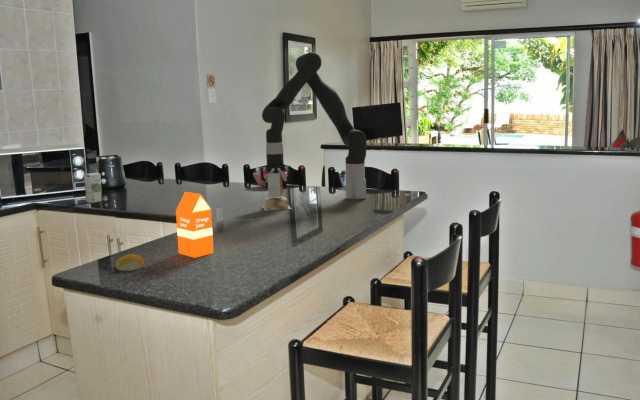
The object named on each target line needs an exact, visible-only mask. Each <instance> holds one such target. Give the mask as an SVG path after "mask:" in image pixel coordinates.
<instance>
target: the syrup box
mask: <svg viewBox="0 0 640 400" xmlns="http://www.w3.org/2000/svg"><path fill="white" fill-rule="evenodd" d="M101 178H102V175H101V173H99V172H89V173H84V174H83V182H84V192H85V194H84V195H85V202H86V203H87V204H88V203H89V204H95V203H101V202H103V190H102V179H101Z"/></svg>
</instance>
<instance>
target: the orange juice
mask: <svg viewBox="0 0 640 400" xmlns="http://www.w3.org/2000/svg"><path fill="white" fill-rule="evenodd" d="M175 217H176V232H177V234H176V235H177V246H178V248H177V249H178V254H180V255H182V256H183V255H184V256H187V257H191V258H194V259H196V258H199V257H202V256H206V255H210V254H213V253H214V237H213V236H214V235H213V234H214V233H213V220H212V218H213V217H212V209H211V206H209V204H208V203H207V201H206V199H205V198H204V197H203V196H202V194H201V193H195V192H189V191H184V193H183V195H182V198H180V201H179V203H178V206H177V207H176V209H175Z"/></svg>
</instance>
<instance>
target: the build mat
mask: <svg viewBox="0 0 640 400" xmlns="http://www.w3.org/2000/svg"><path fill="white" fill-rule="evenodd" d="M261 207H262V209H263V210H264V211H266V212H267V211H269V210H268V209H267V208H266V206H265V205H264V206H261ZM279 210H280V211H281V210H283V209H277V210H276V211H279ZM287 210H292V208H291V206H290V205H289V204H288V209H287Z"/></svg>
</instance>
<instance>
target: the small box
mask: <svg viewBox="0 0 640 400" xmlns="http://www.w3.org/2000/svg"><path fill="white" fill-rule="evenodd" d="M267 175H268V190H267V194H268V195H267V196H268V197H267V198H270V197H283V196H284V195H285V189H283V181H284V180H283V178H282V176H281V173H271V174H267Z"/></svg>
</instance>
